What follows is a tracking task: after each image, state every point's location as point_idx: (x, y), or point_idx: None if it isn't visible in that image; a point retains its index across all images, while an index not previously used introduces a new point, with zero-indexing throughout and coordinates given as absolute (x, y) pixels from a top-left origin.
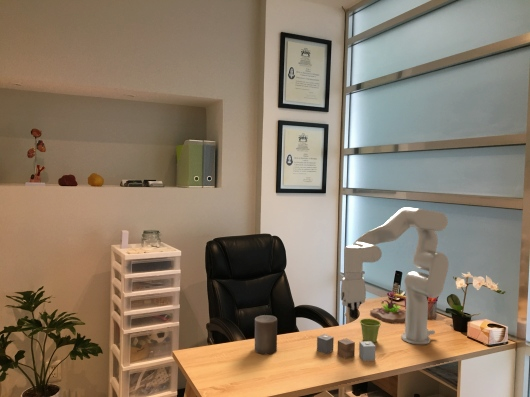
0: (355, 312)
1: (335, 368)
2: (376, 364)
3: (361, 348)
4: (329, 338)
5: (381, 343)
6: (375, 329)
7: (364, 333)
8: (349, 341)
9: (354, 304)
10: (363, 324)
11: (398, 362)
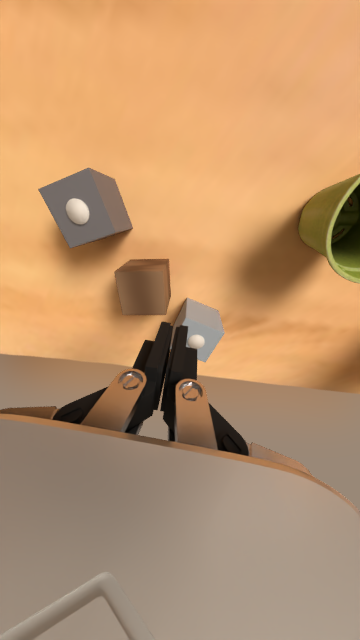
0: (160, 393)
1: (81, 322)
2: None
3: (178, 326)
4: (90, 235)
5: None
6: (348, 267)
7: (312, 222)
8: (152, 300)
9: (180, 415)
10: (327, 230)
11: (242, 366)
